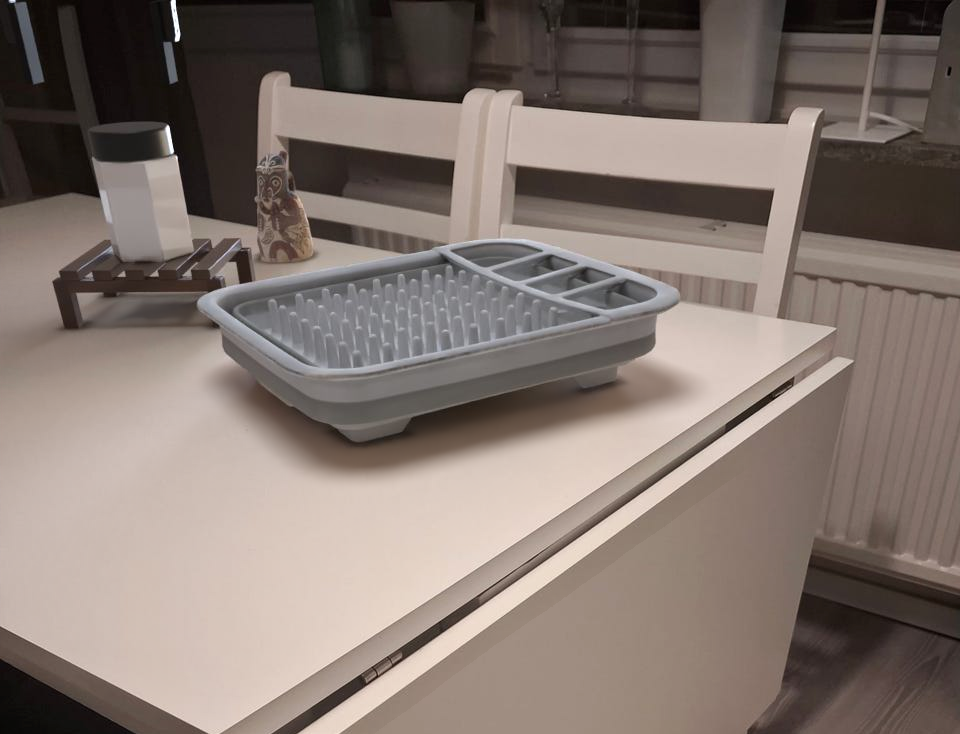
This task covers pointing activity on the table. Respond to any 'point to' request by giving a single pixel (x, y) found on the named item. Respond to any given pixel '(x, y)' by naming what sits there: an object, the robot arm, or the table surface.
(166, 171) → the jar
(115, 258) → the rack
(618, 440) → the table surface
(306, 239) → the figurine
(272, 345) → the dish rack
